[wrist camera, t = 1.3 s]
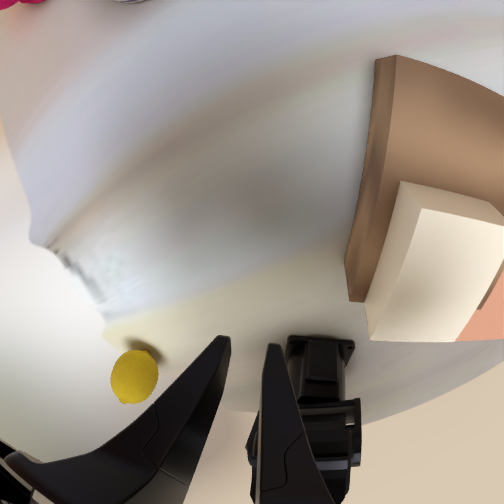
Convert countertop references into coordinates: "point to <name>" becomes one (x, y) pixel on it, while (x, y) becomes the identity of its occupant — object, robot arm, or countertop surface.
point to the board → (423, 153)
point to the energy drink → (128, 1)
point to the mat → (487, 317)
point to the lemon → (134, 376)
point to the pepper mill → (6, 0)
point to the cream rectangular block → (433, 265)
